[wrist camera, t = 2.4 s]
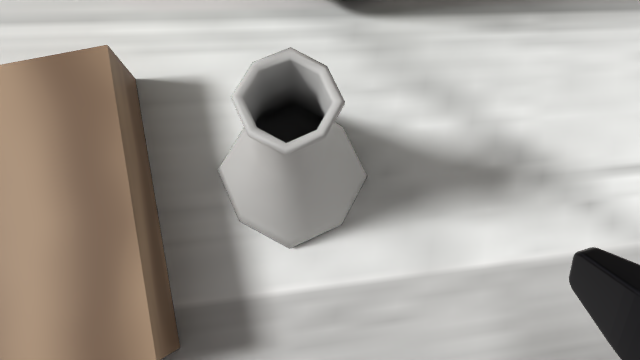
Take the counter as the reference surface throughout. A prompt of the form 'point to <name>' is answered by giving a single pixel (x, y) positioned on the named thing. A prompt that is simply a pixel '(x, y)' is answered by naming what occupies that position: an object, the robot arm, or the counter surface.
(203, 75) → the counter surface
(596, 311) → the robot arm
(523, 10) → the counter surface
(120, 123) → the board
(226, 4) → the counter surface
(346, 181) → the flask
